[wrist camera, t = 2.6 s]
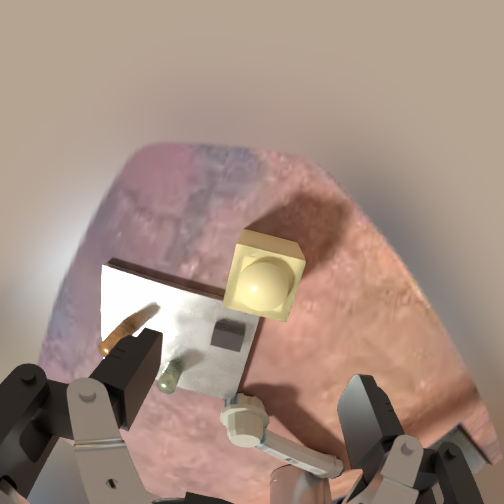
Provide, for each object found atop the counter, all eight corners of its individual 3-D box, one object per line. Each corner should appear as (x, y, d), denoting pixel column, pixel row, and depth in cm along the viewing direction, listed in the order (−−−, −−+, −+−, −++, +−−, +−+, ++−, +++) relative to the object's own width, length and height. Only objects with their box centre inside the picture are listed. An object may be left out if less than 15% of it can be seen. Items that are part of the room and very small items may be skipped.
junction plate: (261, 306, 27) (260, 338, 21) (234, 395, 30) (228, 431, 24) (107, 262, 26) (75, 281, 21) (107, 355, 30) (85, 382, 24)
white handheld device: (323, 484, 31) (208, 445, 24) (317, 454, 37) (211, 402, 30) (351, 472, 30) (243, 431, 23) (342, 442, 36) (242, 385, 29)
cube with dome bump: (297, 242, 25) (307, 263, 18) (282, 291, 26) (286, 326, 20) (243, 228, 25) (235, 245, 18) (231, 279, 26) (220, 310, 20)
